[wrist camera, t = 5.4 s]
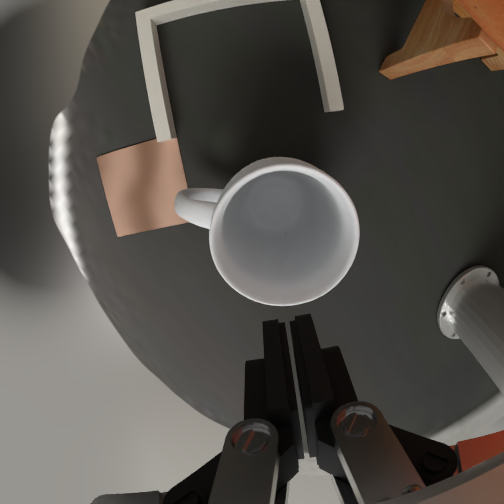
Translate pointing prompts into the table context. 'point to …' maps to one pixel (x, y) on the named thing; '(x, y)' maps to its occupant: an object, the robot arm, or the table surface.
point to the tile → (143, 185)
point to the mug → (277, 230)
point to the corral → (192, 3)
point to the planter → (451, 37)
